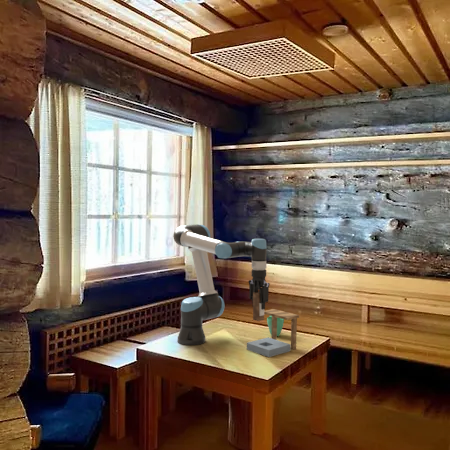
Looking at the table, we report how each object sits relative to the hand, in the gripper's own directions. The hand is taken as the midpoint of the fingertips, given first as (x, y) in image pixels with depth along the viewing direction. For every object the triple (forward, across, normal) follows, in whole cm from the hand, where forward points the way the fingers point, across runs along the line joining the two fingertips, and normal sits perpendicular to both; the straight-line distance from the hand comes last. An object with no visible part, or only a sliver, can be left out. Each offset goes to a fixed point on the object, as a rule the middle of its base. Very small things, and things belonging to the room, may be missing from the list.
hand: (258, 314), depth 253 cm
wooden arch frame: (+19, +1, +15) cm, 25 cm away
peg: (+3, 0, 0) cm, 3 cm away
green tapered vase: (+19, -19, +30) cm, 40 cm away
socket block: (+19, +1, +6) cm, 20 cm away
